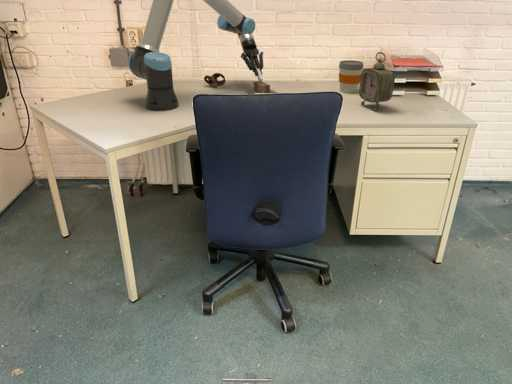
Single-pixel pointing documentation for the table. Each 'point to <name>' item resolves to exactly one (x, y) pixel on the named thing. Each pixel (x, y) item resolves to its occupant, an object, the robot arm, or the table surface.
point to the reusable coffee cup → (350, 75)
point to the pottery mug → (215, 80)
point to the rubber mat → (257, 92)
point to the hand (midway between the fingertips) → (260, 80)
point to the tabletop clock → (376, 83)
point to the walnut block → (261, 87)
